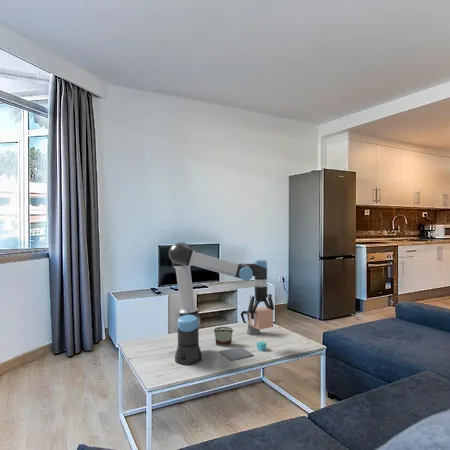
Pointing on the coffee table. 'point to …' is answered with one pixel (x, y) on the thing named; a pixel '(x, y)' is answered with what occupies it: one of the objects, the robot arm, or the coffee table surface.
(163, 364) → the coffee table surface
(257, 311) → the salmon peach cube
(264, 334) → the coffee table surface
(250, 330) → the coffeepot
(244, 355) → the mat
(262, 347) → the fully visible block
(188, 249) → the robot arm
